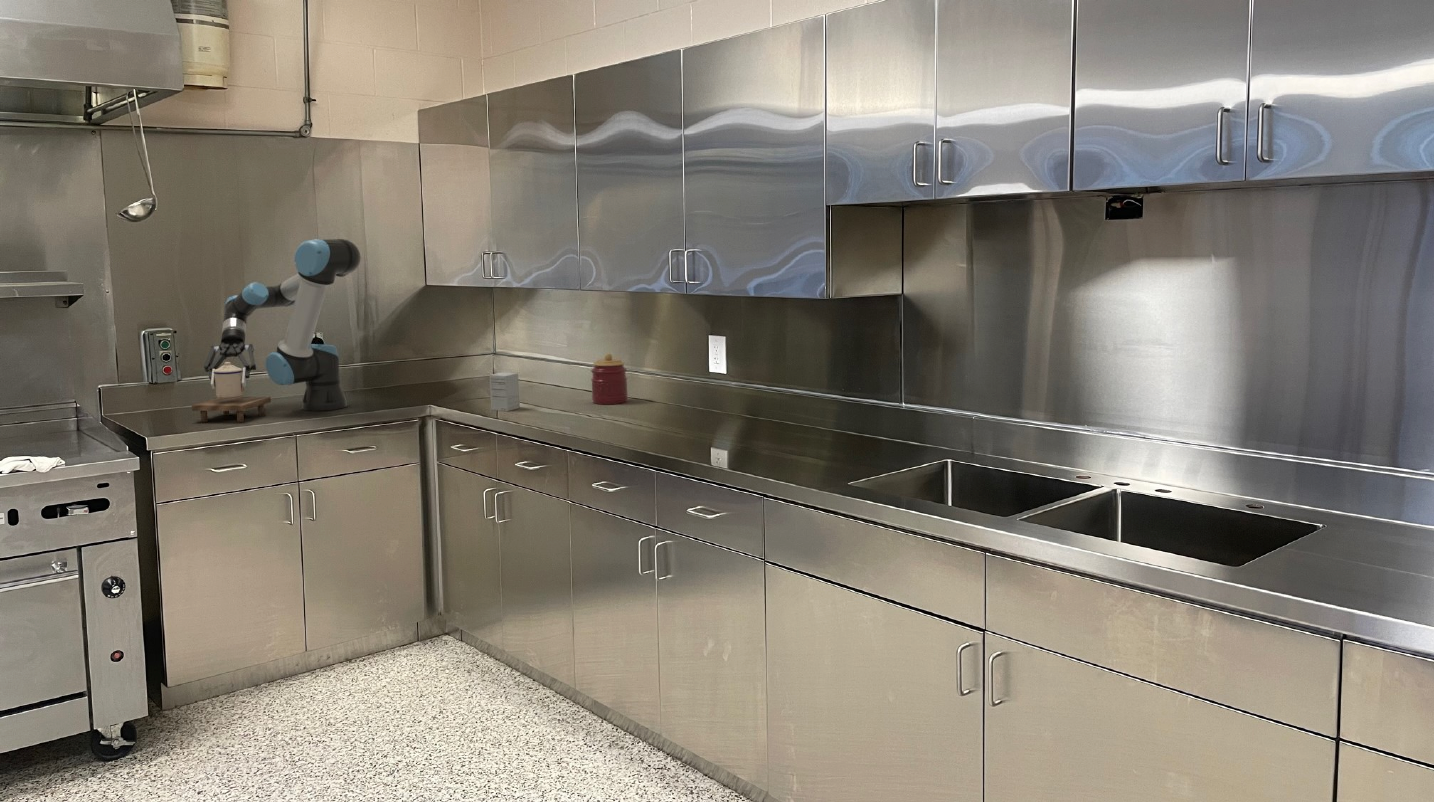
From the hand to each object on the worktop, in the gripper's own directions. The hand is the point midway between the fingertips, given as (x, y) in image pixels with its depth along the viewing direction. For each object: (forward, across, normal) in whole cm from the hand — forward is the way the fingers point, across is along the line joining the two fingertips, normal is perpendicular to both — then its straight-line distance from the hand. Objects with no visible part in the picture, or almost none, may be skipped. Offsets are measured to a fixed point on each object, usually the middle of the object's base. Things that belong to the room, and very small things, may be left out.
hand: (228, 385), depth 360 cm
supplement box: (+15, -92, -2) cm, 93 cm away
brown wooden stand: (+6, 0, -10) cm, 12 cm away
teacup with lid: (+1, +1, -5) cm, 5 cm away
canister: (+12, -129, -4) cm, 130 cm away
